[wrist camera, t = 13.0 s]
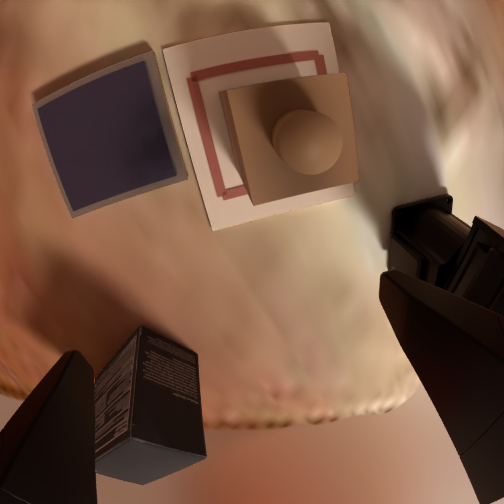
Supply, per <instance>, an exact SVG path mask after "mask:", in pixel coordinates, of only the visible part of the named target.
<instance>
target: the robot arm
mask: <svg viewBox="0 0 504 504" xmlns="http://www.w3.org/2000/svg"><path fill="white" fill-rule="evenodd" d="M447 200H448V201H447ZM452 204H453V198H452V196H450V195H449V194H445V195H441V196H437V197H433V198H429V199H425V200H421V201H417V202H413V203H409V204H405V205H401V206H397V207H395V208H394V209H393V211H392V227H391V237H390V256H389V262H390V269H389V270H388V271H385V272H383V273H382V274H381V276H380V287H379V299H380V303H381V305H382V307H383V309H384V311H385V313H386V315H387V317H388V320H389V322H390V324H391V326H392V328H393V331H394V333H395V335H396V337H397V339H398V341H399V343H400V345H401V347H402V349H403V351H404V353H405V354H406V356H407V358H408V359H409V361H410V363H411V365H412V366H413V368H414V370H415V372H416V373H417V375H418V377H419V379H420V381H421V382H422V384H423V386H424V388H425V390H426V391H427V393H428V395H429V397H430V399H431V400H432V403H433V404H434V406H435V408H436V410H437V412H438V414H439V416H440V418H441V419H442V422H443V424H444V426H445V428H446V430H447V432H448V434H449V436H450V438H451V440H452V442H453V444H454V446H455V448H456V450H457V452H458V455H459V456H460V459H461V461H462V463H463V466H464V468H465V470H466V473H467V475H468V477H469V479H470V482H471V484H472V486H473V489H474V491H475V494H476V496H477V499H478V501H479V503H480V504H490V503H493V502H495V501H497V500H499V499H501V498H503V497H504V230H503V229H501V228H500V227H498V226H496V225H494V224H492V223H490V222H488V221H486V220H484V219H482V218H480V217H477V216H475V217H474V220H473V222H472V223H473V225H472V227H470V226H469V225H468V224H466V223H465V222H463V221H462V220H460V219H459V218H458V217H456V216H455V215H453V214H452ZM398 212H399V214H398V215H397V213H398ZM0 504H97V491H96V469H95V394H94V371H93V368H92V366H91V365H90V364H89V363H88V361H87V360H86V359H85V358H84V356H83V355H82V354H81V353H80V352H79V351H78V350H72V351H67V352H65V353H64V354H63V356H62V357H61V358H60V359H59V360H58V361H57V362H56V364H55V365H54V366H53V367H52V368H51V369H50V371H49V372H48V373H47V374H46V375H45V376H44V378H43V379H42V380H41V381H40V382H39V384H38V385H37V386H36V387H35V388H34V390H33V391H32V392H31V393H30V395H29V396H28V397H27V398H26V399H25V401H24V402H23V403H22V404H21V406H20V407H19V408H18V410H17V411H16V412H15V413H14V415H13V416H12V417H11V419H10V420H9V421H8V422H7V424H6V425H5V426H4V429H2V430H1V432H0Z"/></svg>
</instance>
